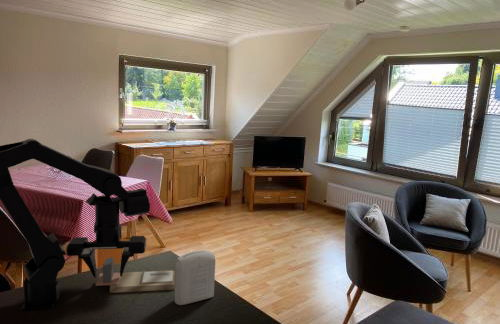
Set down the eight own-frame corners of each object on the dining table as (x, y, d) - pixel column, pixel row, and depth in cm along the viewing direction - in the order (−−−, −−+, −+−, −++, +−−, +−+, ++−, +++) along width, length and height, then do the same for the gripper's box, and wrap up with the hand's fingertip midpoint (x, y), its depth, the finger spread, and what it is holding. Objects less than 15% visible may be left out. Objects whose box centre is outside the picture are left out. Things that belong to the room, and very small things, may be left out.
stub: (95, 285, 96) (95, 267, 95) (100, 274, 102) (99, 257, 101) (117, 284, 97) (117, 266, 96) (120, 273, 103) (120, 256, 102)
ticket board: (109, 292, 96) (109, 285, 96) (114, 277, 104) (114, 271, 103) (174, 289, 99) (174, 282, 99) (174, 275, 107) (174, 268, 106)
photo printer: (208, 289, 100) (210, 245, 98) (216, 297, 96) (218, 251, 94) (171, 299, 94) (172, 252, 92) (178, 308, 91) (179, 259, 88)
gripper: (147, 209, 106) (147, 261, 109) (76, 210, 102) (78, 264, 105) (144, 222, 95) (144, 280, 98) (64, 223, 92) (66, 283, 94)
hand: (108, 276), depth 99 cm, fingers open, 6 cm apart
